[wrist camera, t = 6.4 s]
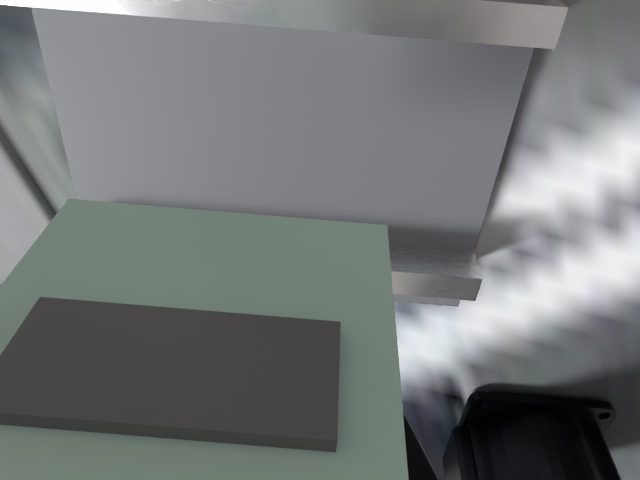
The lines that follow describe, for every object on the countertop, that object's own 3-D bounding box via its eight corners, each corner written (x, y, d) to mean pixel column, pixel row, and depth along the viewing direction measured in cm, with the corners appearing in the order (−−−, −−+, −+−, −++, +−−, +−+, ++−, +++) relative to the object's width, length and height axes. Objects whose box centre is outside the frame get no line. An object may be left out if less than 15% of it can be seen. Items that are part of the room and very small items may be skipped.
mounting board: (566, -85, 14) (593, -74, 12) (456, 297, 22) (464, 335, 20) (9, -130, 14) (-36, -125, 12) (99, 268, 22) (79, 304, 20)
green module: (388, 214, 8) (419, 556, 4) (349, 446, 12) (348, 749, 8) (65, 187, 9) (-193, 505, 4) (124, 427, 12) (11, 720, 8)
